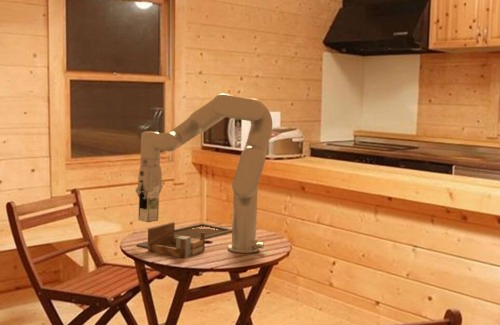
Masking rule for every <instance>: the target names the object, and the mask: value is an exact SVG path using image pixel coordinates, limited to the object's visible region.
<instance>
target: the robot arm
mask: <svg viewBox="0 0 500 325" xmlns="http://www.w3.org/2000/svg"><path fill="white" fill-rule="evenodd" d="M225 118H229V119H235V120H242V121H248V122H250V128H249V132H248V136H247V140H246V142H245V146H244V148H243V150H242V151H241V153H240V157H239V159H238V160H239V161H238V164H237V167H236V169H235V170H236V171H235V174H234V177H233V180H232V185H231V187H232V191H233V194H232V196H233V198H232V221H231V222H232V225H231V229H232V232H231V243H230V244H228V245H227V250H229V251H230V252H234V253H238V254H239V253H240V254H249V253H250V254H252V253H257V252H258V251H259V250H261V249H264V247H265V245H264V244H265V243H264V242H260V241H259V238H257V216H258V215H257V210H258V190H259V189H258V187H259V184H260V180H261V177H262V173H263V170H264V166H265V162H266V153H267V150H268V146H269V143H270V140H271V139H270V138H271V136H272V131H273V119H272V115H271V113H270V111H269V109H268V108H267V106H266V105H265V104H264V103H263V101H261V100H259V99H258V98H248V97H243V96H238V95H237V96H236V95H231V94H227V93H219V94H217V95H216V96H214V97H213V99H212V100H209V101H208V102H207V103H205V105H202V106H201V107H199V108H198V109H197V110H194V112H192V113H191V114H190V115H189V116H188V117H187V119H186V120H184V121H182V123H180V124H179V125H177V126H175V127H174V128H172V129H171V130H169V131H166V132H158V131H151V130H150V131H149V130H148V131H143V132H142V133H141V137H140V164H139V165H140V167H139V169H138V170H139V171H138V179H137V187H136V189H135V193H136V194H137V196H138V199H139V198H140V208H142V209H147V199H146V196H147V192H152V191H154V187H156V186H160V189H159V194H160V193H161V190H162V189H163V180H162V179H163V176H162V175H163V174H162V168H161V165H160V163H161V160H160V159H161V158H160V157H161V151H163V152H168V153H169V152H173V151H176V150H178V148H181V147H182V146H183V145H184V144H186V143H187V142H189V141H191V140H192V139H194V138H195V137H197V136H199V135H200V134H203V133H204V132H206V131H207V130H209V129H210V128H212V127H213V126H214V125H216V124H218V123H219V122H221V121H222V120H224V119H225ZM143 189H144V190H145V191H143ZM143 193H144V195H143Z"/></svg>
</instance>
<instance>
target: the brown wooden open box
mask: <svg viewBox="0 0 500 325" xmlns="http://www.w3.org/2000/svg"><path fill="white" fill-rule="evenodd" d="M175 224H176V223H175V222H174V221H172V222H168V223H164V224H160V225H156V226H153V227H151V228H150V227H149V228H147V241H148V248H147V253H155V254H160V255H164V256H171V257H175V258H180V259H185V258H186V257H185V239H181V249H178V248H176V247H173V246H176V237H174V232H175V229H176V226H175ZM201 240H203V251H205V246H206V244H205V243H206V242H205V240H206V239H205V232H201ZM171 246H172V247H171Z"/></svg>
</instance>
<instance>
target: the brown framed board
mask: <svg viewBox="0 0 500 325" xmlns="http://www.w3.org/2000/svg"><path fill="white" fill-rule="evenodd" d="M201 226H202V227H204V226H205V227H210V228H215V230H213V229H212V230H211V229H199V228H197V227H201ZM192 228H195V229H192ZM196 228H197V229H196ZM216 229H218V230H216ZM201 232H205V240H206V239H207V240H208V239H212V238H215V237H220V236H223V235H228V234H232V228H227V227H224V226H219V225H213V224H209V223H204V222H203V223H201V222H200V223H197V224H193V225H189V226H183V227H179V228H175V232H174V237H176V238H177V237H180V236H188V237H191V238H195V239H200V240H201Z"/></svg>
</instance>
